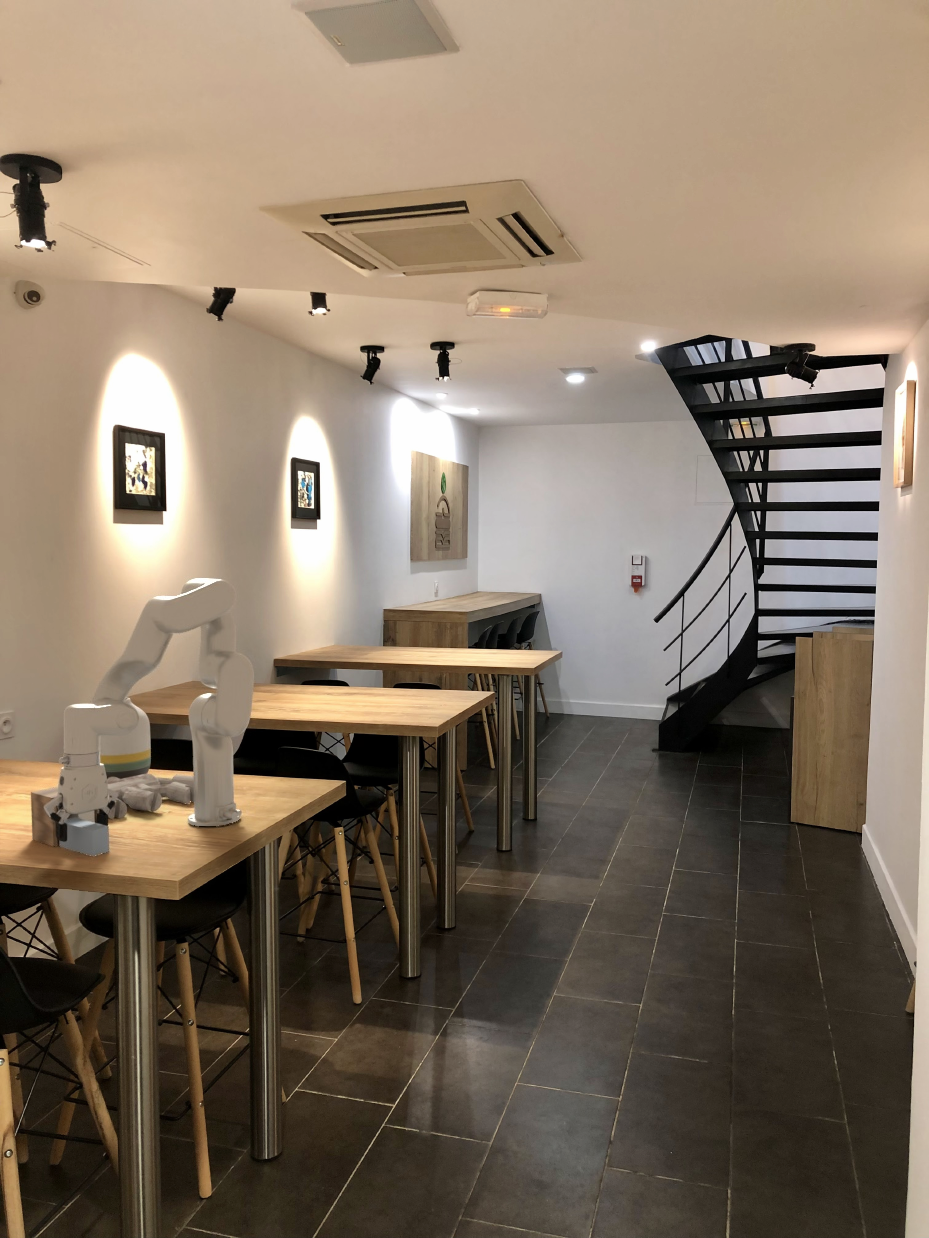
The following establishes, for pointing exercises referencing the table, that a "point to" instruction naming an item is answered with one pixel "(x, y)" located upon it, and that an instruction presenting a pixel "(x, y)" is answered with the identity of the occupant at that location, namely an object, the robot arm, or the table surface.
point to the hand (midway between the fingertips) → (82, 835)
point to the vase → (127, 750)
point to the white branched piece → (149, 792)
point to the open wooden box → (45, 816)
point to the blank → (86, 837)
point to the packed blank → (84, 816)
